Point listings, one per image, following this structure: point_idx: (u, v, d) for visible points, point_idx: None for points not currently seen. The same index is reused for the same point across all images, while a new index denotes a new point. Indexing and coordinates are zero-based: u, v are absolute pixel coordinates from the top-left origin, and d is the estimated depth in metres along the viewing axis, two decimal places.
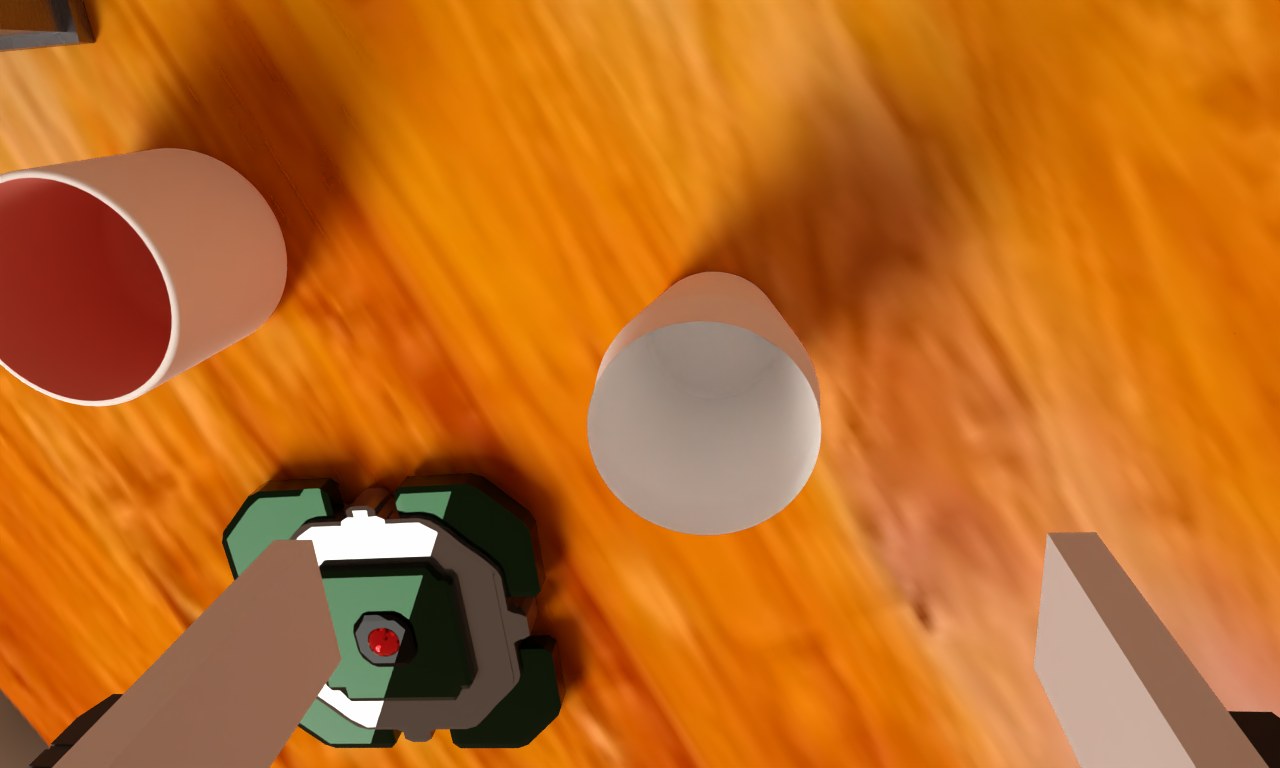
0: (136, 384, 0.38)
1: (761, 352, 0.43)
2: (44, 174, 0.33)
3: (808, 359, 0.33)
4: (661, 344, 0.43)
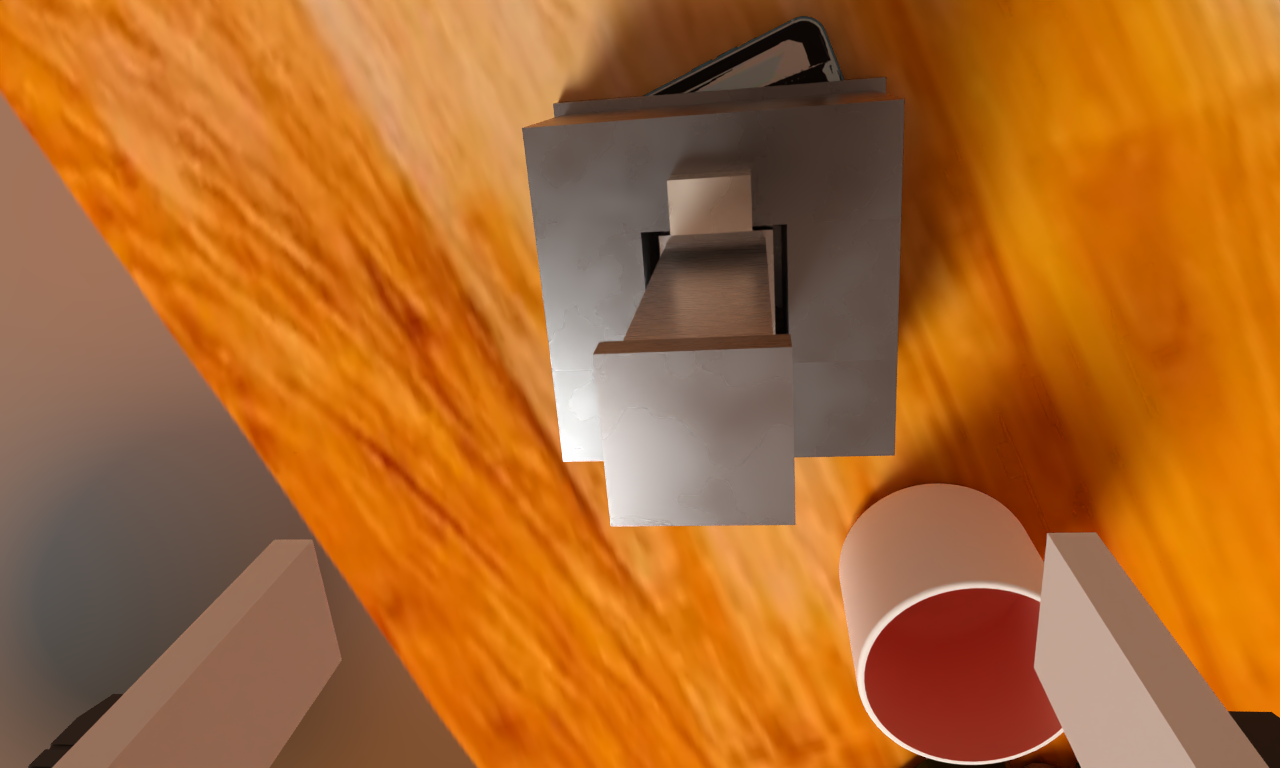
0: (970, 731, 0.41)
1: None
2: (1001, 586, 0.36)
3: None
4: None
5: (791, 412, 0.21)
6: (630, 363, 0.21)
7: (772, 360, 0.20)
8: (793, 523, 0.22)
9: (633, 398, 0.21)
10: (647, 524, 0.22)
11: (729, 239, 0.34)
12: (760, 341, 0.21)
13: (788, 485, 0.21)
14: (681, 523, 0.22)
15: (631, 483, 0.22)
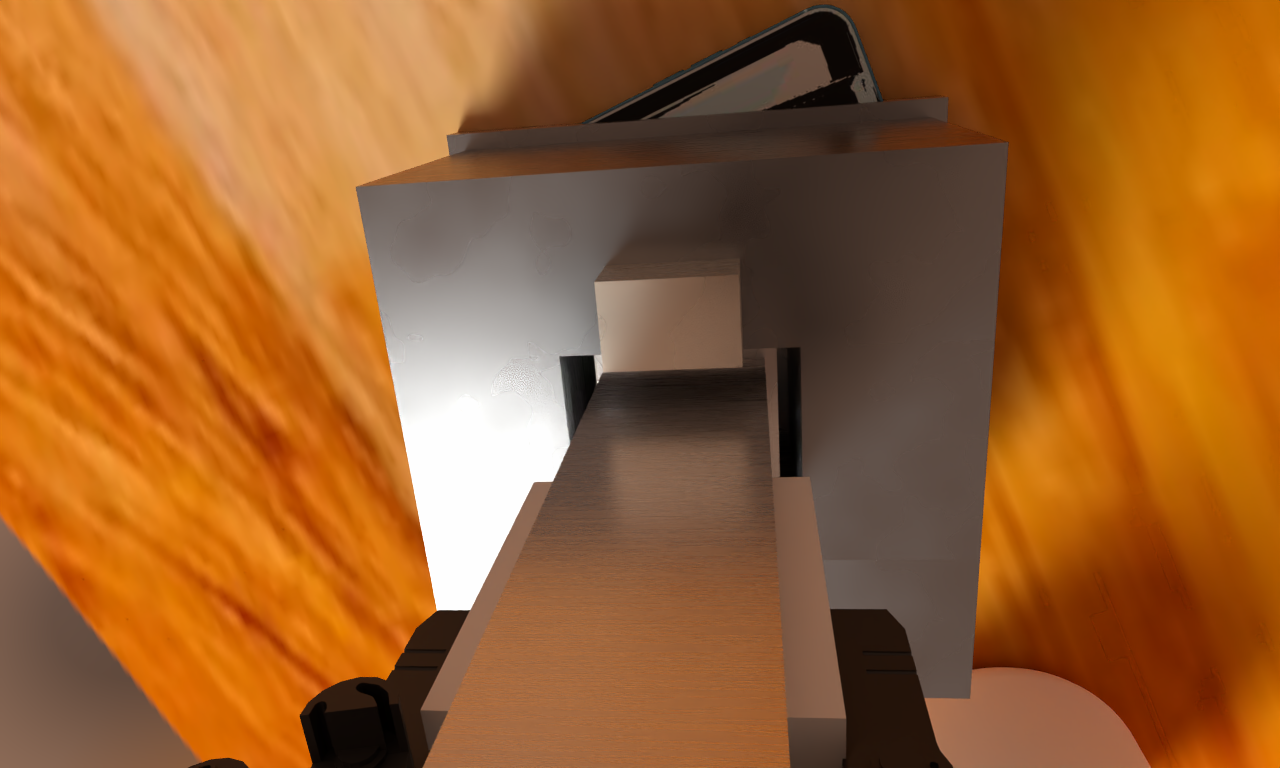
0: None
1: None
2: None
3: None
4: None
5: None
6: None
7: None
8: None
9: None
10: None
11: None
12: None
13: None
14: None
15: None
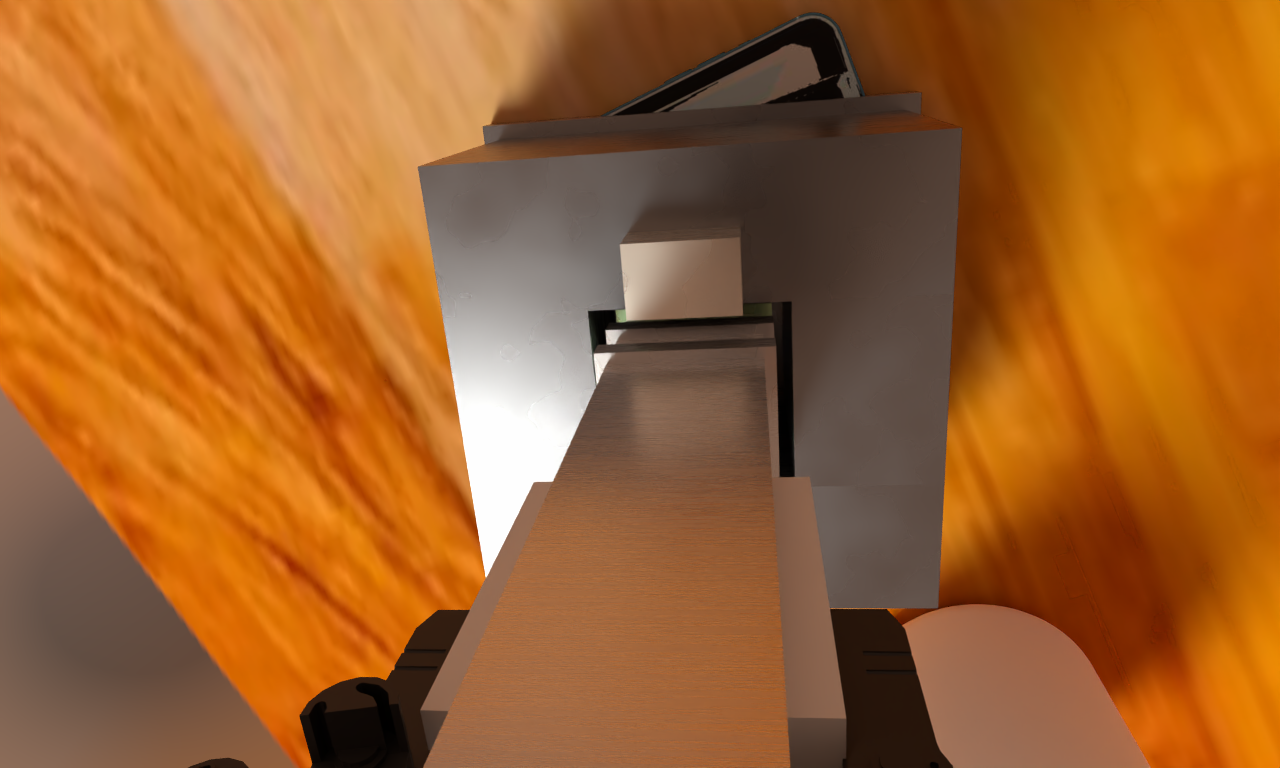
0: None
1: None
2: None
3: None
4: None
5: None
6: None
7: None
8: None
9: None
10: None
11: (706, 360, 0.21)
12: None
13: None
14: None
15: None
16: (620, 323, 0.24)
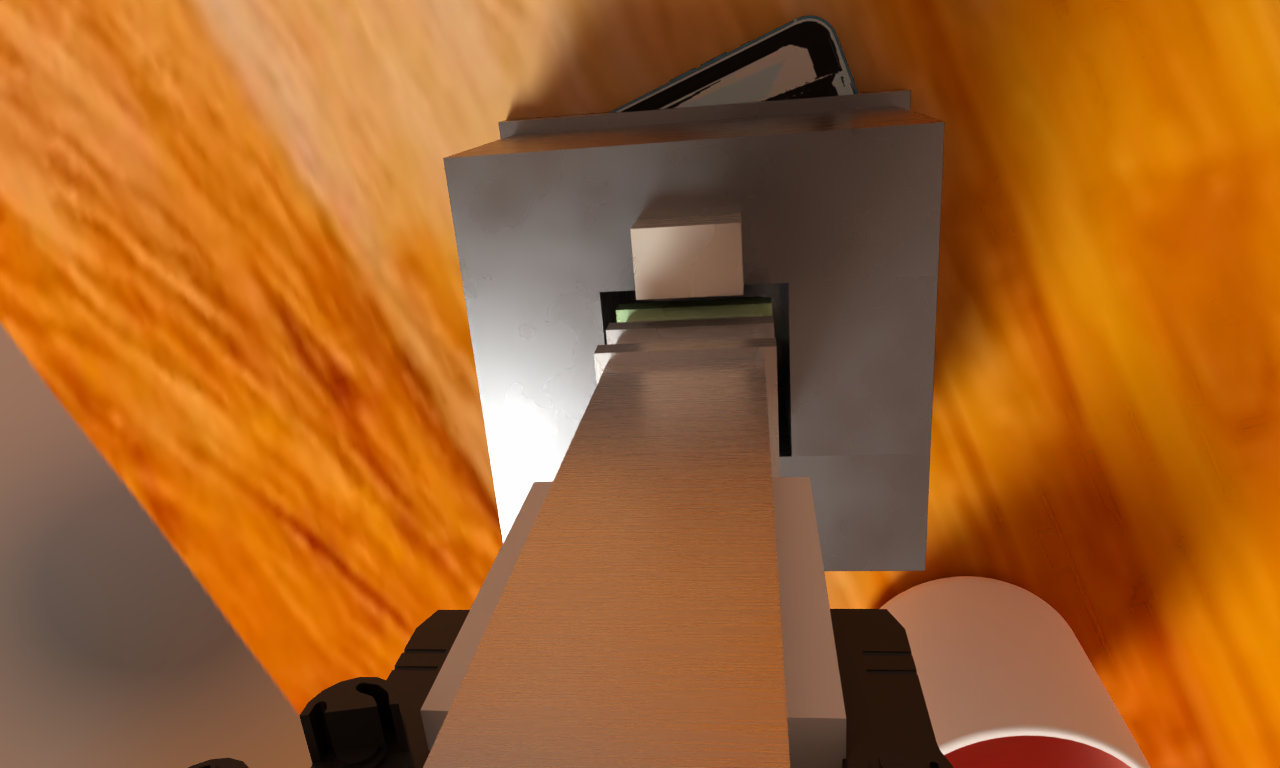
0: None
1: None
2: (1059, 733, 0.28)
3: None
4: None
5: None
6: None
7: None
8: None
9: None
10: None
11: (706, 360, 0.21)
12: None
13: None
14: None
15: None
16: (620, 323, 0.24)
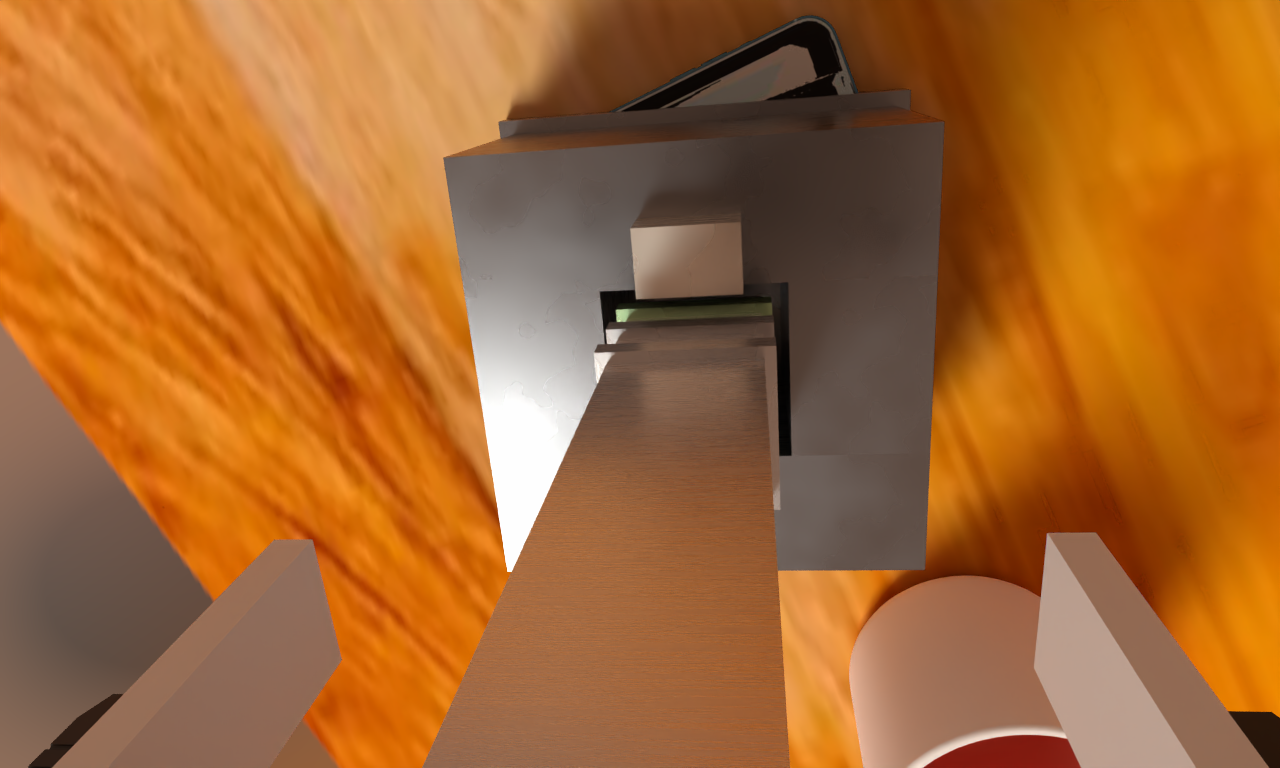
0: None
1: None
2: (1059, 732, 0.28)
3: None
4: None
5: None
6: None
7: None
8: None
9: None
10: None
11: (706, 360, 0.21)
12: None
13: None
14: None
15: None
16: (620, 322, 0.24)
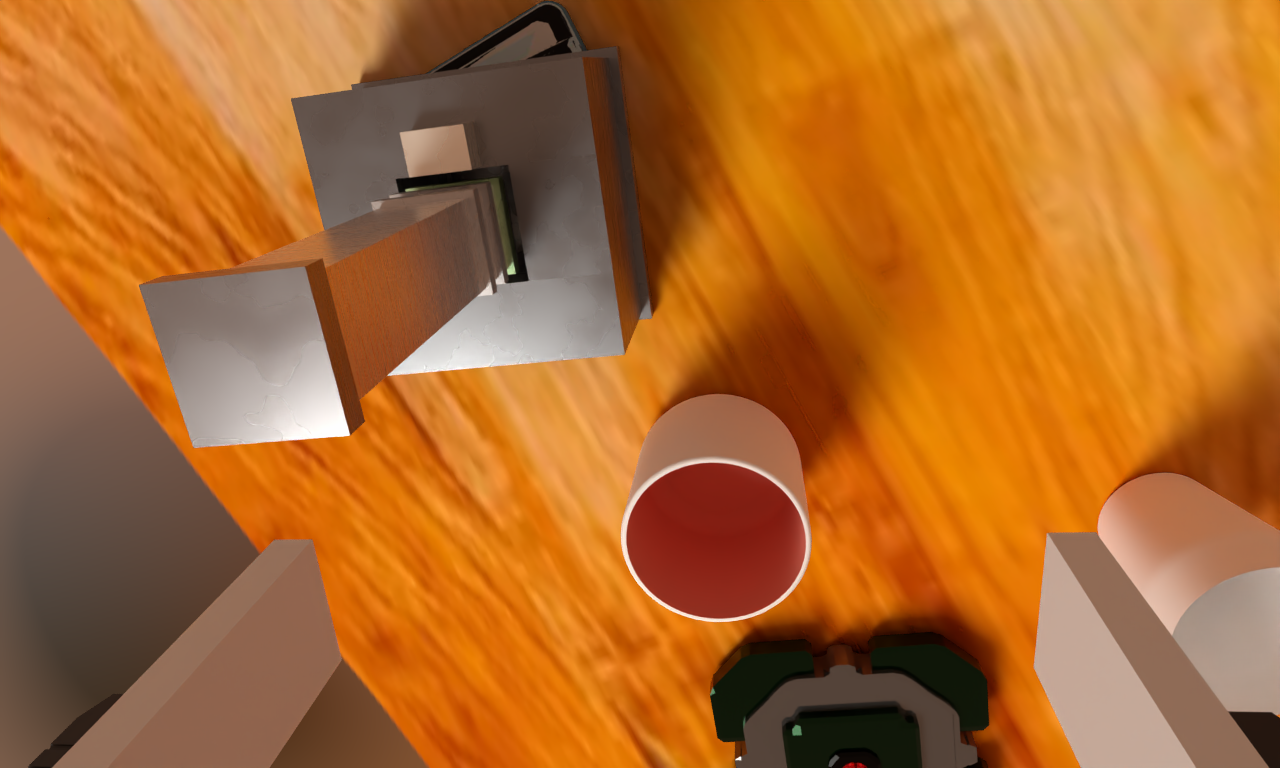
0: (733, 597, 0.48)
1: None
2: (722, 459, 0.43)
3: None
4: None
5: (319, 328, 0.23)
6: (172, 291, 0.23)
7: (291, 280, 0.22)
8: (347, 434, 0.24)
9: (183, 324, 0.23)
10: (225, 444, 0.24)
11: (435, 201, 0.36)
12: (288, 265, 0.23)
13: (334, 398, 0.23)
14: (253, 440, 0.24)
15: (201, 405, 0.24)
16: (400, 192, 0.39)
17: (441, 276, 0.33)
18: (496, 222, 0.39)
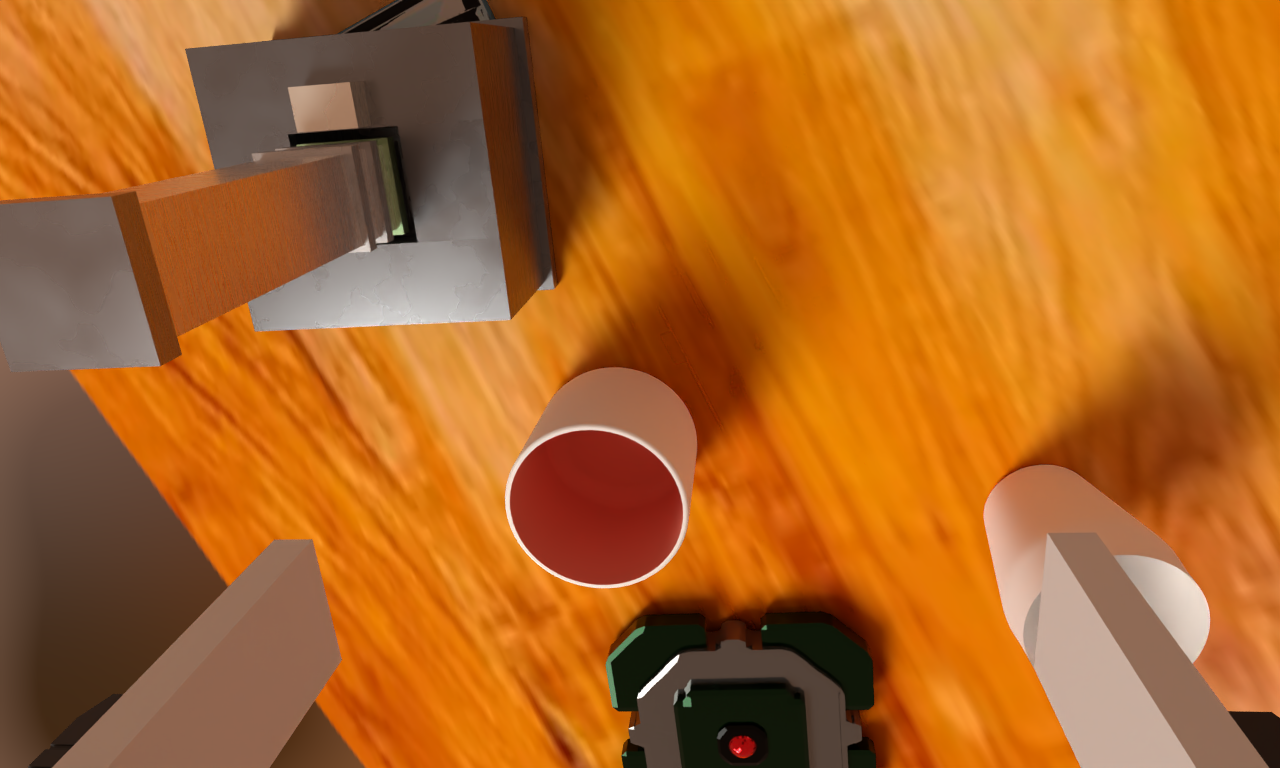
0: (617, 565, 0.49)
1: None
2: (602, 427, 0.44)
3: None
4: None
5: (126, 258, 0.23)
6: None
7: (98, 209, 0.23)
8: (158, 364, 0.24)
9: None
10: (42, 370, 0.25)
11: (313, 155, 0.37)
12: (99, 195, 0.23)
13: (144, 328, 0.24)
14: (68, 367, 0.25)
15: (16, 330, 0.25)
16: (288, 147, 0.40)
17: (303, 226, 0.33)
18: (381, 181, 0.40)
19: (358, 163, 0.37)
